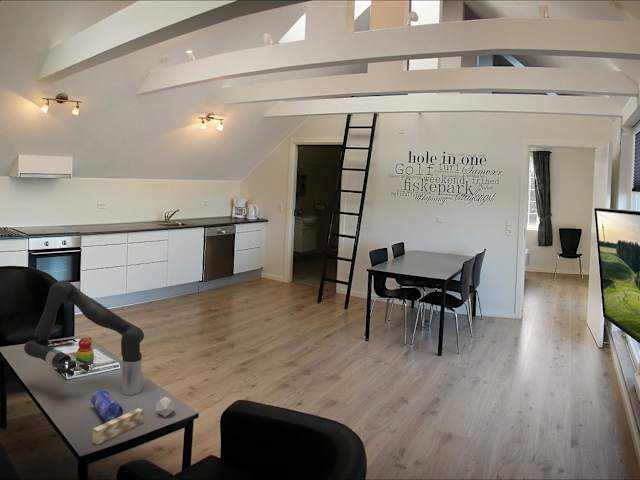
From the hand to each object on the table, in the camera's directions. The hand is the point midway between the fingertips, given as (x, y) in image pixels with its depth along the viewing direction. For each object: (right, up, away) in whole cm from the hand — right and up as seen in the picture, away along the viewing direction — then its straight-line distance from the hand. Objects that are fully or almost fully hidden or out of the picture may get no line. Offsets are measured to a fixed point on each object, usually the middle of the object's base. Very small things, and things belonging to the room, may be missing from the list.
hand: (81, 371), depth 244 cm
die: (+41, -20, -2) cm, 45 cm away
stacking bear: (-20, -10, +46) cm, 51 cm away
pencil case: (+15, -19, -6) cm, 25 cm away
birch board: (+26, -21, -21) cm, 40 cm away
